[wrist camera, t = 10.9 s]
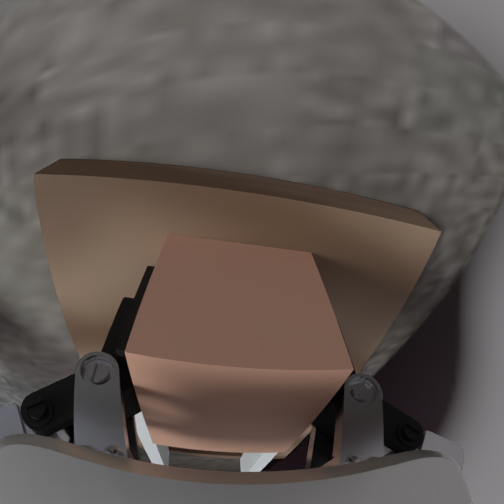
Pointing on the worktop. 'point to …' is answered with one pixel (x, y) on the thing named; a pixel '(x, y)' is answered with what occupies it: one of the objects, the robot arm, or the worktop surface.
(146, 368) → the block
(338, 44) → the worktop surface
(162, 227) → the board
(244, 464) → the channel
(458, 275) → the worktop surface
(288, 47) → the worktop surface
